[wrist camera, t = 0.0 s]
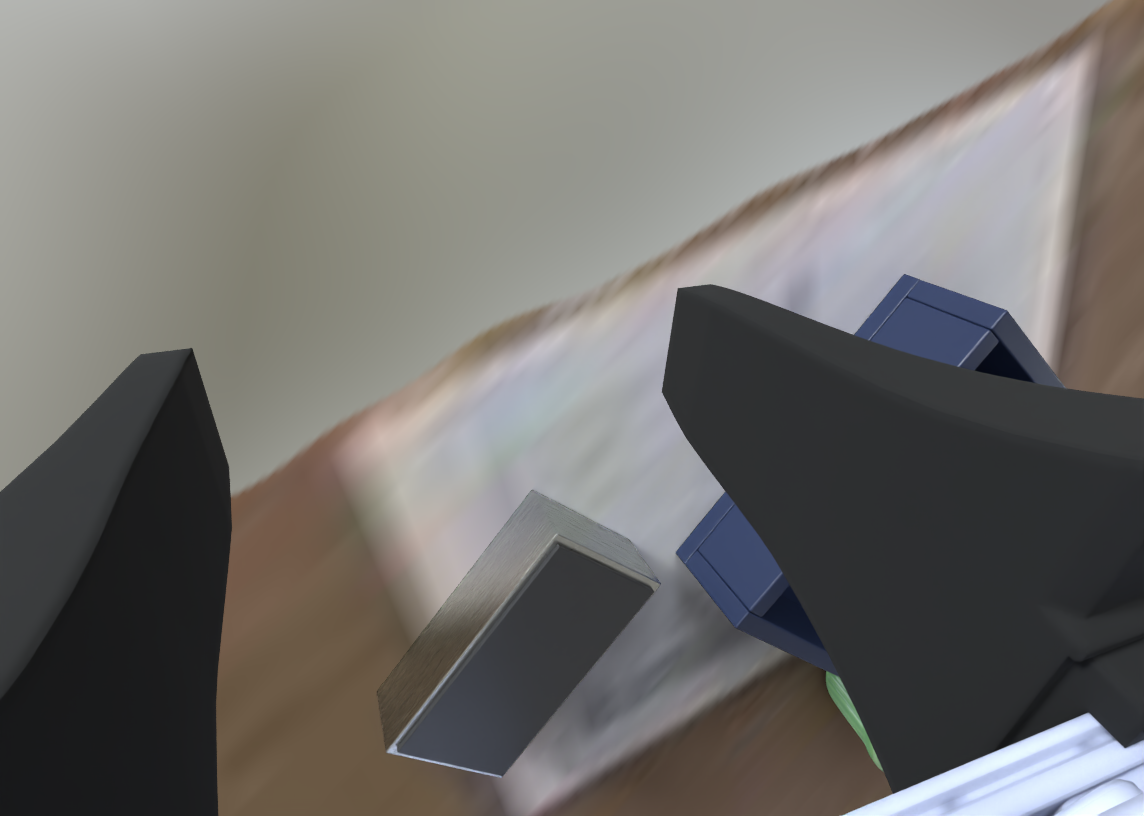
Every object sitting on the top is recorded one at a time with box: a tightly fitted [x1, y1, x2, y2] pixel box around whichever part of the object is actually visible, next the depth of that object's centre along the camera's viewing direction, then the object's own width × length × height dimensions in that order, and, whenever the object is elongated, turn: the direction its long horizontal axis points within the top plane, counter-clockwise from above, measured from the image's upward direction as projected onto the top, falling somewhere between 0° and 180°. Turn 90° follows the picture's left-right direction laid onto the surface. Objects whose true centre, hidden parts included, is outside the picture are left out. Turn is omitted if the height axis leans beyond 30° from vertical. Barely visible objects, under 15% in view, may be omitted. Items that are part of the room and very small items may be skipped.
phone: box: [377, 490, 661, 778], centre depth 26 cm, size 10×5×3 cm, turn 142°
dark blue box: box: [676, 274, 1065, 677], centre depth 29 cm, size 10×14×5 cm
